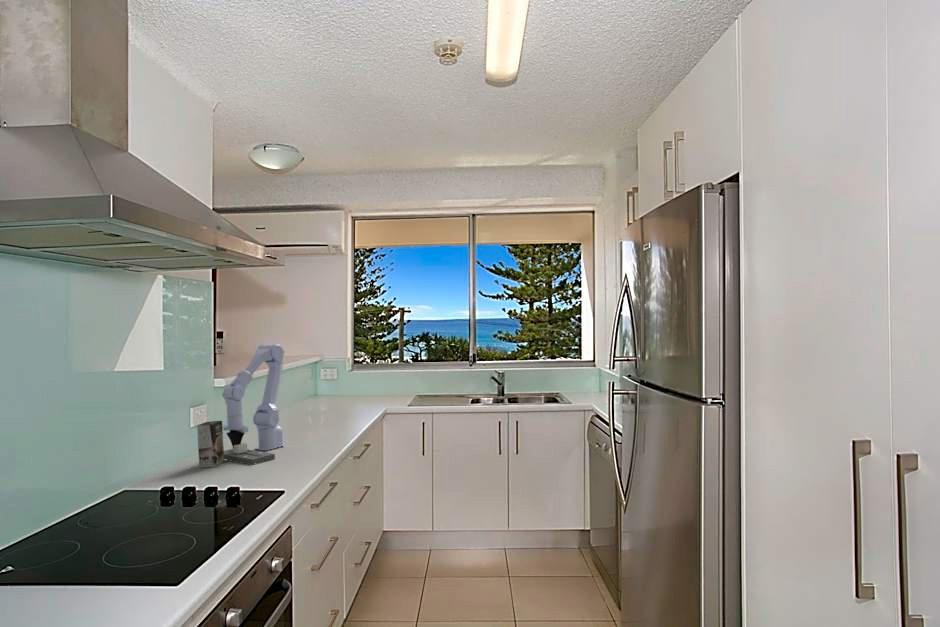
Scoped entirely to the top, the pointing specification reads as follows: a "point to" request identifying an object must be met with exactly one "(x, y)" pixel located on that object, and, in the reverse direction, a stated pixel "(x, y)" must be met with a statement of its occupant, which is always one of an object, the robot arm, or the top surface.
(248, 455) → the fader panel
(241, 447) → the fader knob
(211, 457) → the coffee box
